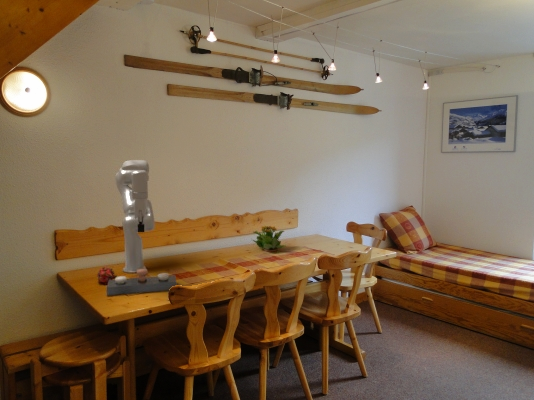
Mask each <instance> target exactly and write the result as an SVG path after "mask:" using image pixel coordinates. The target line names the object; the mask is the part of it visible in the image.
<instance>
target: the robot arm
mask: <svg viewBox="0 0 534 400" xmlns="http://www.w3.org/2000/svg"><path fill="white" fill-rule="evenodd" d="M121 165H122V166H121V167H120V168H119V170H118V172H116V174H115V185H116V188H117V189H118V192H119V194H120V196H121V202H122V203H121V204H122V210H123V213H124V214H125V215H126V216H125V217H123V218H122V229H123V236H124V255H125V256H124V257H125V260H124V262H125V266H124V267H123V268H122V272H124V273H128V274H129V273H130V274H132V273H134V274H135V273H136V274H137V270H138V269H147V268H146V266H145V265H144V254H143V251H144V250H143V238H142V237H141V235H140V234H138V233H145V232H151V231H153V230H154V229H155V225H156V223H155V218H154V217H155V216H154V211H153V210H154V209H153V206H152V205H153V204H152V202H151V200H149V192H148V191H149V188H148V187H149V186H148V182H149V176H150V175H149V172H150V166H149V162H148V161H147V160H145V159H130V160H126V161H124V162H123V163H122V164H121Z"/></svg>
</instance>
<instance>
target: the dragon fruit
mask: <svg viewBox="0 0 534 400" xmlns="http://www.w3.org/2000/svg"><path fill="white" fill-rule="evenodd" d="M96 275H97V276H96V277H97V280H98V282H99V283H102V284H105V285H106V284H107V285H108V281H109V280H115V278H116V277H118V275H116V274H115V271H114V270H113V268H111V267H108V266H104V267H101V268H100V269H99V271H98V272H97V274H96Z"/></svg>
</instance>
